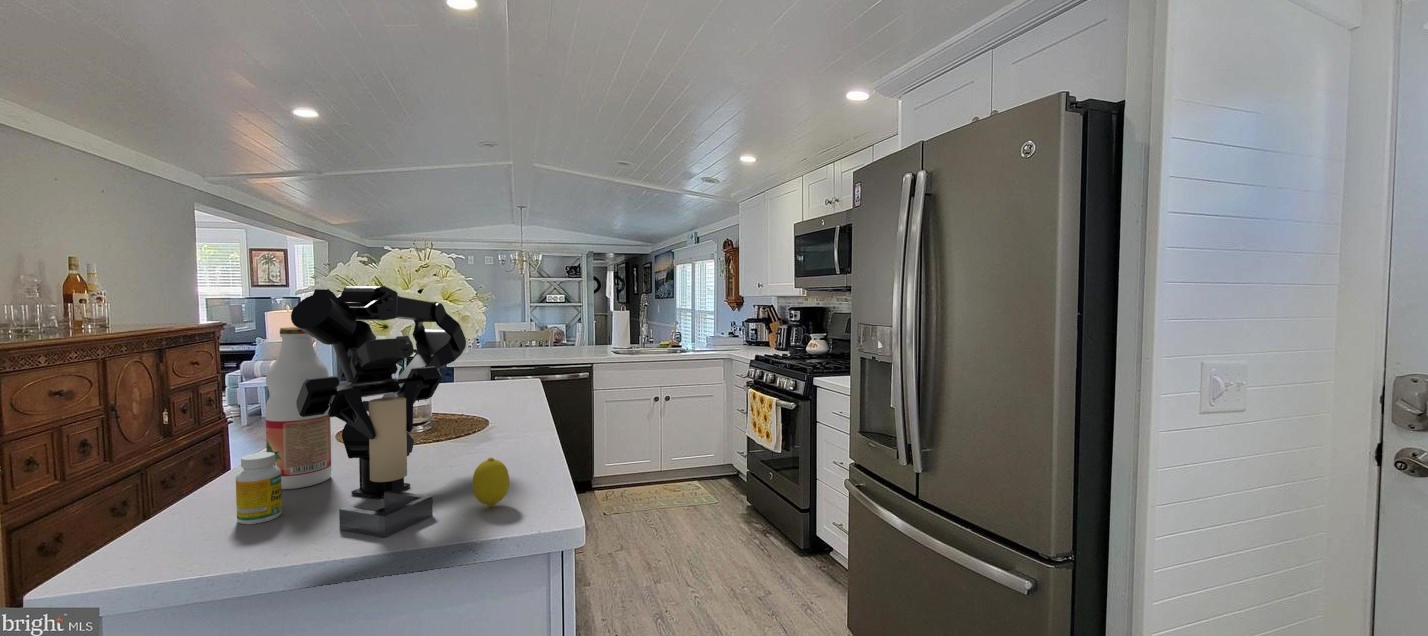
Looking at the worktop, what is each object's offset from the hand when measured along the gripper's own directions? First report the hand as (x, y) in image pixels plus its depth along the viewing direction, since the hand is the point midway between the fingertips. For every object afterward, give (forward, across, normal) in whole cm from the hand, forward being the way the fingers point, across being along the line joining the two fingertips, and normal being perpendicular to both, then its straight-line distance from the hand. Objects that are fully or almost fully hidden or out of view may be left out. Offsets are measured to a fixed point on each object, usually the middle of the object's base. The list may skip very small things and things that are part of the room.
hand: (392, 434), depth 83 cm
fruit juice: (-14, -2, +33) cm, 36 cm away
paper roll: (+4, 0, +6) cm, 7 cm away
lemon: (+13, +13, +6) cm, 19 cm away
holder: (+8, 0, +10) cm, 14 cm away
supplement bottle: (-3, -11, +23) cm, 26 cm away
